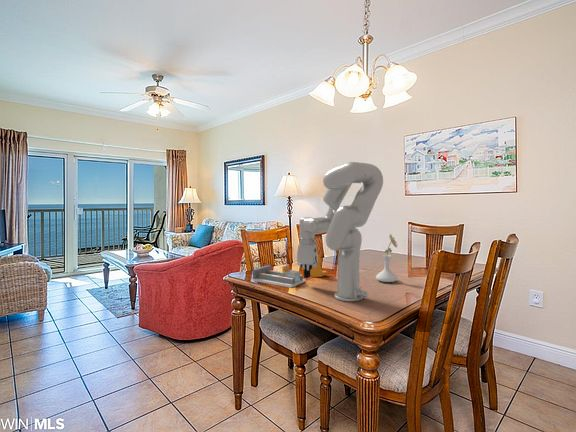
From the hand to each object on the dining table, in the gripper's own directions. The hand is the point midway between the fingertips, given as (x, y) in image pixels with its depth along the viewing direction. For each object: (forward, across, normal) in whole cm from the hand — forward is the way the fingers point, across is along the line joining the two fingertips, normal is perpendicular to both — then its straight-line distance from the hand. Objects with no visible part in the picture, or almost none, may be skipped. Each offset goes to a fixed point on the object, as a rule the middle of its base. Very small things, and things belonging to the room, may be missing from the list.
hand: (307, 277), depth 159 cm
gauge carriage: (+3, +10, 0) cm, 10 cm away
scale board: (+4, +18, 0) cm, 18 cm away
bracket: (+5, +7, -22) cm, 23 cm away
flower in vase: (+4, -31, -32) cm, 45 cm away
